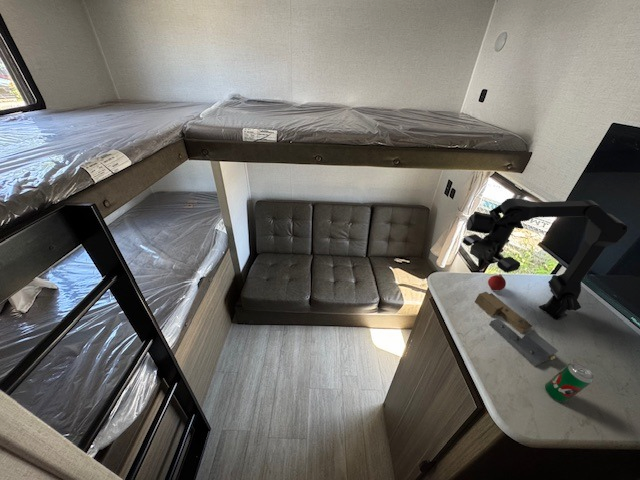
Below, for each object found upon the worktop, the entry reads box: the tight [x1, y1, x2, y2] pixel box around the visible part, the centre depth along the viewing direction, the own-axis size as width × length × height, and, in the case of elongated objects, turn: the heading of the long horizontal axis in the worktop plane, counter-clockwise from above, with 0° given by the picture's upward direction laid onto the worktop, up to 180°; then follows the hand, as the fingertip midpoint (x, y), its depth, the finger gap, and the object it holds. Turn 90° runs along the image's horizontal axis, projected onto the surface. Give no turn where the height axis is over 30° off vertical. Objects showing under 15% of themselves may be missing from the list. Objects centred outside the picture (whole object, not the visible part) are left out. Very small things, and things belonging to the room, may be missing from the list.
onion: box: [487, 273, 507, 292], centre depth 101 cm, size 6×6×8 cm
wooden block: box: [474, 291, 533, 334], centre depth 91 cm, size 8×16×4 cm, turn 22°
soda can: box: [544, 362, 595, 403], centre depth 67 cm, size 5×5×12 cm
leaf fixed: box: [488, 318, 559, 367], centre depth 82 cm, size 7×17×4 cm, turn 22°
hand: (479, 269), depth 94 cm, fingers closed
